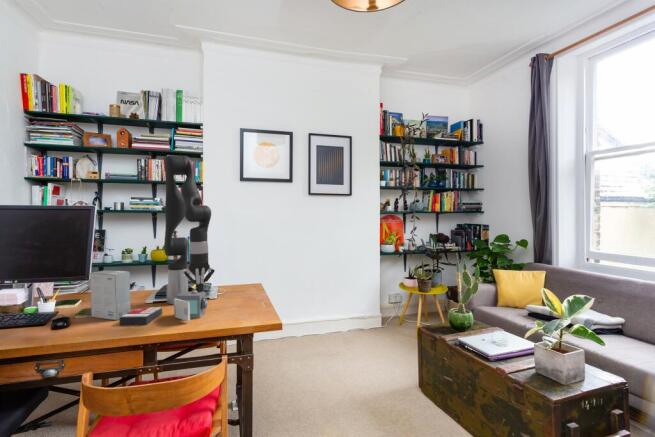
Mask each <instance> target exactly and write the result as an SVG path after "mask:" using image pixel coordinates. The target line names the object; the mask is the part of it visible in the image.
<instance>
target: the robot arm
mask: <svg viewBox="0 0 655 437" xmlns="http://www.w3.org/2000/svg"><path fill="white" fill-rule="evenodd" d="M164 172H165V173H164V175H165V203H164V204H165V205H164V206H165V208H164V209H165V210H164V212H165V232H164V243H163V244H164V245H163V250H164V255H165V256H167V257H176V256H180V257H179V258H178V259H176V260H174V261H172V262H170V263H168V265H167V281H168V282H167V284H166V303H167V304H169V305H174V299H175V298H176V299H177V297H176V296H177V295H179V294H180V293H182V292H189V281H190V282H191V283H192V284H195V290H196V291H197V292H198V293H200V292H204V283H207V282H208V281H209V280H210V278H211V277H212V276H213V275H214V273H215V272H216V270H215V269H214V268H212V267H211V265H210V264H209V242H208V231H209V230H208V229H209V226H210V223H211V222H210V221H211V217H212V210H211V208H210V207H209V205H202V202H203V200H202V197H201V194H200V191H199V189H198V187H197V183H196V177H195V173H194V168H193V163H192V161H191V159H190V157H189V156H188V155H178V154H177V155H175V154H169V155H166V157H165V160H164ZM175 176H186V177H185V179H184V182H183V183H182V185H181V189H180V190H181V191H180V190H179V187H178V186H177V185H176V181H175ZM184 218H185V220H186V221H188V222H190V223H199V225H198V226H195V227H191V228H190V230H189V243H188V239H187V237H183V236H182V237H174V236H173V235H174V233H175V231H176V229H177V228H178V226H179V225H180V224H181V222H182V221H183V219H184ZM188 246H189V247H188ZM188 253H189V254H188ZM188 255H189V265H188ZM207 272H208V273H207ZM191 274H192V275H193V276H194V278H193V277H192V276H191Z"/></svg>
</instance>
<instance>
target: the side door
mask: <svg viewBox="0 0 655 437" xmlns="http://www.w3.org/2000/svg"><path fill="white" fill-rule="evenodd" d="M175 303H176V317H175V318H176V319H179V320H182V321H186V322H190V321H191V318H190V302H188V301H184V300H180V299H175Z"/></svg>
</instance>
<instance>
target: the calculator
mask: <svg viewBox="0 0 655 437" xmlns="http://www.w3.org/2000/svg"><path fill="white" fill-rule="evenodd" d="M162 314H163V308H162V307H161V306H159V307H157V306H156V307H154V306H153V307H145V306H144V307H137V308H135V309H133V310H131V312H128V313H127V314H125V315H123V316H121V317H120V319H119V326H120V327H121V326H125V327H127V326H147V325H149V324H150V323H151V322H152V321H154V320H155V319H158V318H159V317H160V316H161V315H162Z"/></svg>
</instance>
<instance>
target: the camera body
mask: <svg viewBox="0 0 655 437" xmlns="http://www.w3.org/2000/svg"><path fill="white" fill-rule="evenodd" d="M176 297H177V299H180V300H184V301H188V302H190V319H201V318H202V317H203V316H204V315H205V314H206V309H207V307H208V304H209V302H208V298H206V292H205V291H202V292H200V293H198V292H197V291H196V289H194V290H192V291H188V292H182V293H180V294H179V295H177V296H176ZM175 299H176V298H175ZM175 299H174V304H173V317H174V318H176V303H175Z"/></svg>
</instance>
